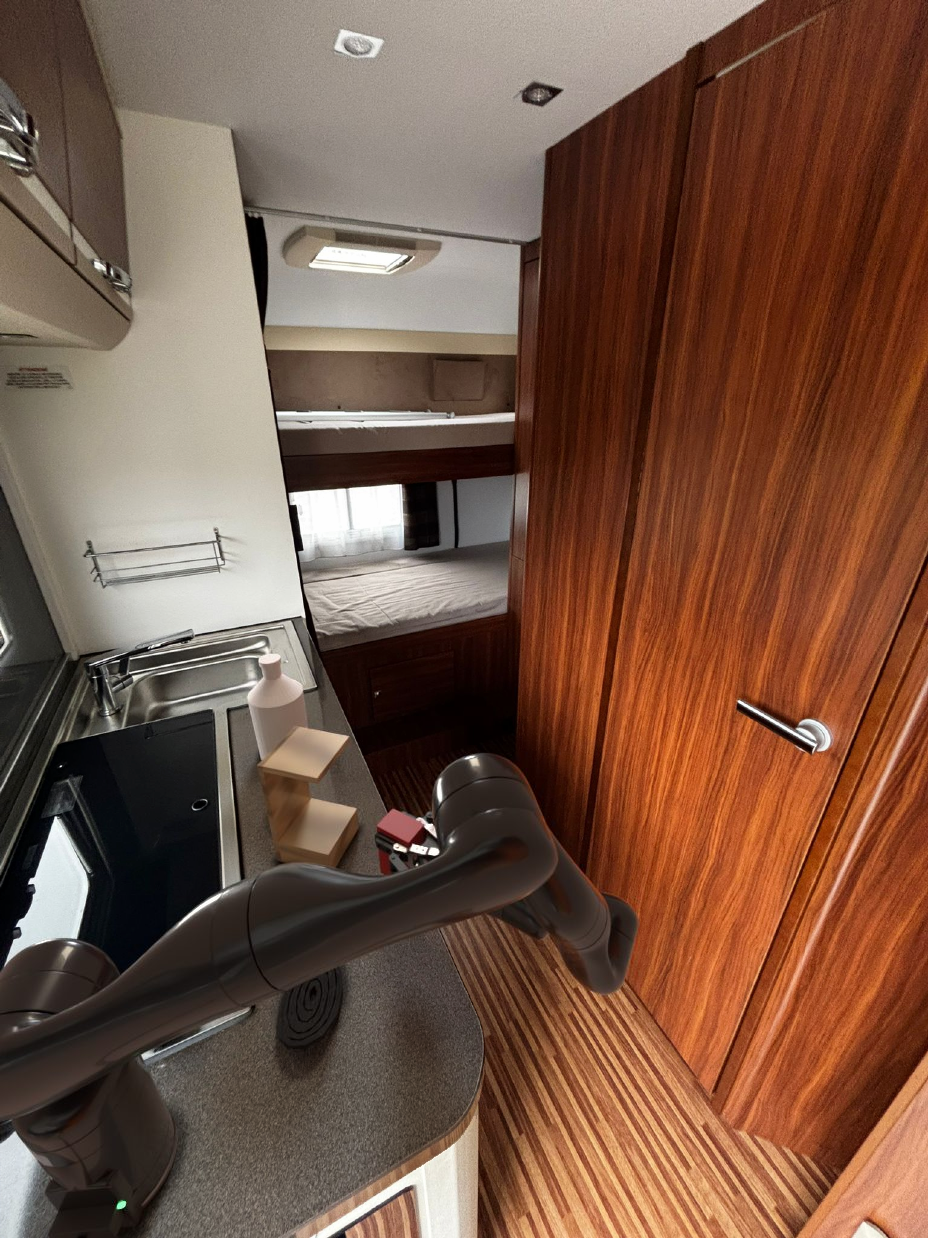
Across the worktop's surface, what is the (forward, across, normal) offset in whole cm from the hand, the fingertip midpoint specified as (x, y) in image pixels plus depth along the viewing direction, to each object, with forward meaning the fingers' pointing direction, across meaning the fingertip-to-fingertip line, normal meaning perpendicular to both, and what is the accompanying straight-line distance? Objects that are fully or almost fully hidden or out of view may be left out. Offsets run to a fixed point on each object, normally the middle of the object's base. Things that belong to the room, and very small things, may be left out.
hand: (386, 827), depth 75 cm
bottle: (+46, -18, +17) cm, 52 cm away
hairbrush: (+3, +13, +17) cm, 22 cm away
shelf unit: (+19, -2, +17) cm, 26 cm away
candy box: (-3, 0, +8) cm, 8 cm away
